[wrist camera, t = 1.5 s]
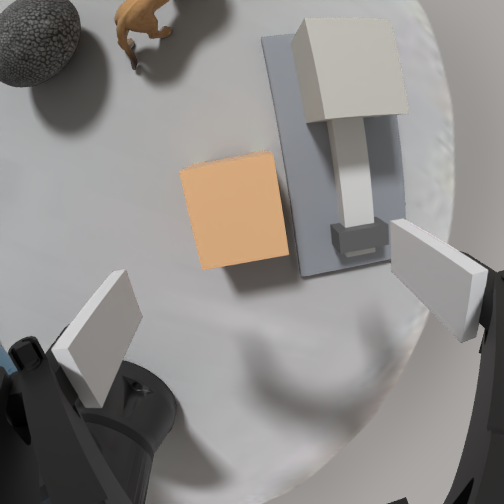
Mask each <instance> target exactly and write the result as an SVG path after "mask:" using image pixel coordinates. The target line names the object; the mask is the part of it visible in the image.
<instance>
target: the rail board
mask: <svg viewBox="0 0 504 504" xmlns="http://www.w3.org/2000/svg"><path fill="white" fill-rule="evenodd" d="M261 43H262V48H263V53H264V58H265V63H266V67H267V73H268V78H269V83H270V88H271V93H272V98H273V104H274V109H275V115H276V120H277V126H278V132H279V137H280V143H281V149H282V155H283V161H284V167H285V173H286V179H287V186H288V192H289V199H290V205H291V212H292V219H293V226H294V233H295V240H296V247H297V255H298V262H299V270H300V274H301V277H304V276H309V275H314V274H320V273H325V272H330V271H335V270H340V269H345V268H350V267H355V266H360V265H365V264H370V263H375V262H380V261H384V260H389V259H391V229H390V221H392V220H398V219H405V220H406V214H405V193H404V178H403V166H402V155H401V146H400V137H399V129H398V122H397V115H399V114H409V107H408V101H407V95H406V89H405V84H404V78H403V73H402V68H401V63H400V59H399V54H398V50H397V46H396V42H395V37H394V34H393V30H392V26H391V22H390V20H389V19H374V18H342V17H335V18H304V20H303V22H302V24H301V25H300V27H299V29H298V31H297V32H296V34H287V35H276V36H267V37H262V38H261Z"/></svg>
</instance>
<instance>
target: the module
mask: <svg viewBox="0 0 504 504" xmlns="http://www.w3.org/2000/svg"><path fill="white" fill-rule="evenodd" d="M179 172H180V177H181V181H182V186H183V191H184V195H185V200H186V204H187V208H188V213H189V217H190V221H191V226H192V230H193V234H194V238H195V242H196V246H197V251H198V255H199V259H200V263H201V267H202V270H206V269H212V268H218V267H223V266H229V265H235V264H240V263H246V262H252V261H257V260H263V259H268V258H274V257H279V256H285V255H289V251H288V244H287V237H286V230H285V224H284V217H283V211H282V204H281V198H280V192H279V186H278V180H277V174H276V168H275V162H274V156H273V153H271V152H269V151H266V150H264V151H258V152H252V153H251V154H247V155H241V156H236V157H230V158H225V159H220V160H215V161H210V162H207V161H205V162H200V163H195V164H192V165H190V166H188V167H187V168H185V169H183V170H181V171H179Z"/></svg>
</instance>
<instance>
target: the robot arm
mask: <svg viewBox="0 0 504 504" xmlns="http://www.w3.org/2000/svg"><path fill="white" fill-rule="evenodd" d="M390 229H391V272H392V273H393V274H394V275H395V276H396V277H397V278H398V279H399V280H400V281H401V282H402V283H403V284H404V285H405V286H406V287H407V288H408V289H409V290H410V291H411V292H412V293H413V294H414V295H415V296H416V297H417V298H418V299H419V300H420V301H421V302H422V303H423V304H424V305H425V306H426V307H427V308H428V309H429V310H430V311H431V312H432V313H433V314H434V315H435V316H436V317H437V318H438V319H439V320H440V321H441V322H442V323H443V324H444V325H445V327H446V328H447V329H448V330H449V331H450V332H451V333H452V334H453V335H454V336H455V337H456V338H457V339H458V341H460V343H463V342H465V341H468V340H470V339H473V338H475V337H476V335H477V331H478V326H479V323H480V324H481V325H482V326H483V327H484V328H485V330H484V334H483V339H482V342H481V346H480V350H479V353H481V362H480V369H479V376H478V384H477V390H476V395H475V401H474V406H473V412H472V416H471V421H470V425H469V429H468V434H467V437H466V441H465V445H464V449H463V452H462V456H461V460H460V463H459V466H458V469H457V473H456V476H455V479H454V482H453V484H452V487H451V489H450V492H449V494H448V496H447V498H446V500H445V502H444V503H443V504H504V270H503V271H499V272H498V273H497V272H495V271H494V270H492V269H491V268H489V267H488V266H486V265H484V264H483V263H481V262H480V261H478V260H477V259H475V258H473V257H472V256H470V255H469V254H467V253H464V252H461V251H458V250H456V249H455V248H453V247H451V246H450V245H448V244H446V243H445V242H443V241H441V240H440V239H438V238H436V237H435V236H433V235H431V234H430V233H428V232H426V231H425V230H423V229H421V228H419V227H418V226H416V225H414V224H412V223H410V222H409V221H407V220H405V219H398V220H392V221H390ZM141 319H142V314H141V311H140V308H139V306H138V303H137V300H136V297H135V294H134V292H133V289H132V286H131V283H130V280H129V277H128V274H127V271H126V269H123V270H118V271H113V272H112V273H111V274H110V275H109V276H108V278H107V279H106V280H105V281H104V282H103V284H102V285H101V286H100V287H99V288H98V290H97V291H96V292H95V293H94V294H93V296H92V297H91V298H90V299H89V301H88V302H87V303H86V304H85V306H84V307H83V308H82V309H81V311H80V312H79V313H78V314H77V316H76V317H75V318H74V320H73V321H72V322H71V323H70V324H69V325H68V326H66V327H65V328H64V330H63V331H62V332H61V334H60V336H58V337H57V339H56V341H54V343H53V344H52V345H51V347H50V348H49V349H48V351H47V352H46V354H45V353H44V351H43V349H42V348H41V346H40V344H39V342H38V340H37V338H36V337H33V336H30V337H26V338H23V339H21V340H19V341H17V342H16V343H15V344H13V345H12V346H11V348H10V349H9V351H8V353H7V352H6V351H5V350H4V349H3V348H2V347H1V346H0V504H145V500H146V494H147V489H148V483H149V477H150V472H151V466H152V461H153V456H154V453H155V451H156V450H157V449H158V447H159V446H160V444H161V443H162V441H163V440H164V438H165V437H166V435H167V434H168V433H169V431H170V430H171V428H172V426H173V424H174V420H175V414H176V402H175V399H174V397H173V395H172V393H171V392H170V390H169V389H168V387H167V386H166V385H165V384H164V383H163V382H162V381H161V380H160V379H159V378H157V377H156V376H155V375H153V374H152V373H150V372H149V371H147V370H146V369H144V368H142V367H140V366H138V365H135V364H133V363H130V362H127V361H123V358H124V356H125V354H126V352H127V349H128V347H129V345H130V343H131V341H132V338H133V336H134V334H135V332H136V330H137V328H138V326H139V324H140V321H141ZM388 504H408V501H407V499H406V497H405V498H402V499H400V500H397V501H394V502H391V503H388Z"/></svg>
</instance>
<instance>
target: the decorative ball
mask: <svg viewBox="0 0 504 504" xmlns="http://www.w3.org/2000/svg"><path fill="white" fill-rule="evenodd" d="M80 30H81V26H80V18H79V15H78V12H77V10H76V8H75V7H74V5H73V4H72V3H71V2H70V1H69V0H16V1H15V2H13V3H12V4H10V5H9V6H8V7H7V8H6V9H5V10H4V11H3V12H2V13H1V14H0V81H1V82H3V83H5V84H7V85H10V86H13V87H30V86H34V85H37V84H40V83H42V82H44V81H46V80H48V79H50V78H51V77H53V76H54V75H56V74H57V73H58V72H60V71H61V70H62V69H63V68H64V67H65V65H66V64H67V63H68V62H69V60H70V59H71V57H72V55H73V54H74V52H75V50H76V47H77V45H78V42H79V37H80Z"/></svg>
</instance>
